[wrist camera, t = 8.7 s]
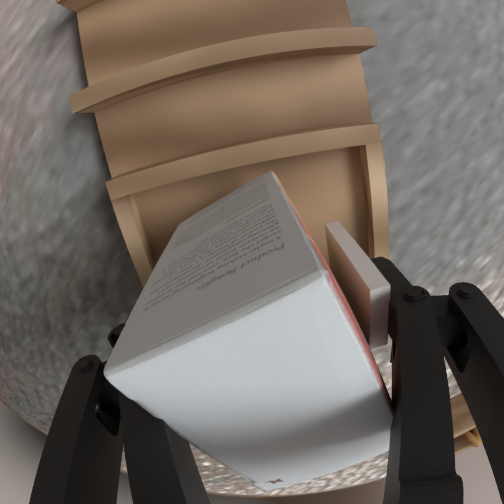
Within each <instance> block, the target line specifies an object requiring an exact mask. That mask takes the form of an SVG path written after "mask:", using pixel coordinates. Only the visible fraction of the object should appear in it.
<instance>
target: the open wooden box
mask: <svg viewBox="0 0 504 504" xmlns="http://www.w3.org/2000/svg"><path fill="white" fill-rule="evenodd" d="M450 402H451V411H452V421H453V433H454V450H455V455H456V454H458V453H460V452H462V451H464V450H466V449H468V448H470V447H472V446H470V445H468V444H467V443H466V442H465V441H464V440H463V437H462V434H464V433H466V432H468V431H470V430H472V429H474V428H475V427H476V425H475V422H474V420H473V418H472V415H471V413H470V410H469V408H468V406H467V403H466V401H465V399H464V397H463V394H461V395H459V396H457V397H454V398H452V399H450Z"/></svg>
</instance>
